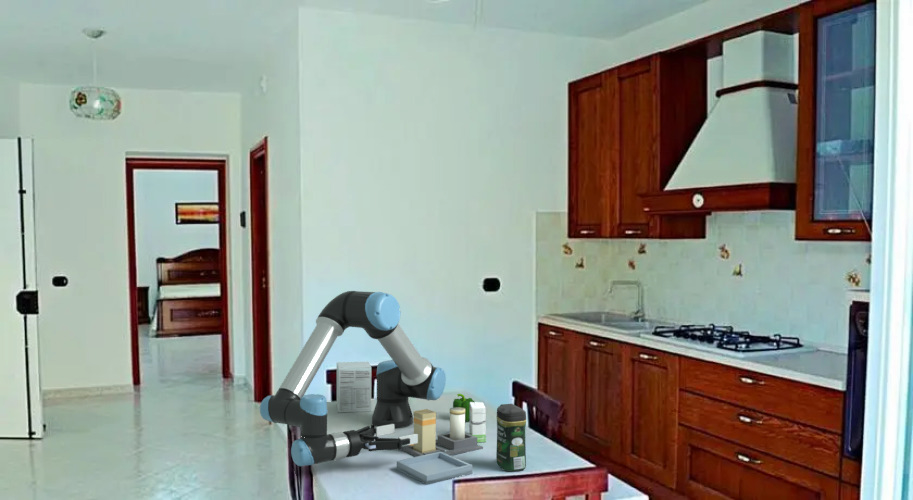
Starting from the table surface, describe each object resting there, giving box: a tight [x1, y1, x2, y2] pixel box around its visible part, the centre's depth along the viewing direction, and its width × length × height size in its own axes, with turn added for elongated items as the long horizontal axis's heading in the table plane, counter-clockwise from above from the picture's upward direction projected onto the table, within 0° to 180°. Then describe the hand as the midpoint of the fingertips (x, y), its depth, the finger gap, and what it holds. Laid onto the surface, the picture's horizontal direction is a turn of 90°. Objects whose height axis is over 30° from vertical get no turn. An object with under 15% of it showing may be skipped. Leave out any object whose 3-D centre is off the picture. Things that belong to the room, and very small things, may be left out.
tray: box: [396, 452, 473, 486], centre depth 210 cm, size 16×16×2 cm
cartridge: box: [449, 407, 466, 440], centre depth 236 cm, size 5×5×12 cm
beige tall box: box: [412, 408, 437, 454], centre depth 228 cm, size 5×5×13 cm
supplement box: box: [336, 361, 372, 413], centre depth 285 cm, size 13×13×18 cm
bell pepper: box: [452, 393, 475, 422], centre depth 268 cm, size 8×8×10 cm
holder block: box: [401, 432, 484, 457], centre depth 232 cm, size 15×22×3 cm
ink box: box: [468, 401, 487, 443], centre depth 243 cm, size 9×5×12 cm, turn 5°
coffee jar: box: [495, 403, 527, 472], centre depth 214 cm, size 10×8×19 cm
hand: (405, 433), depth 223 cm, fingers open, 13 cm apart
